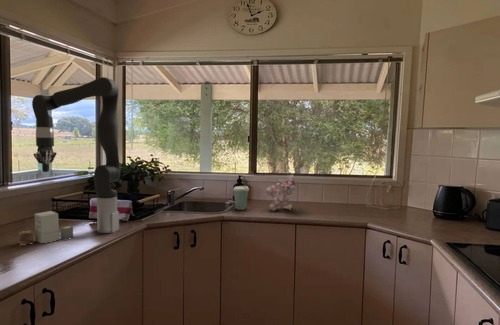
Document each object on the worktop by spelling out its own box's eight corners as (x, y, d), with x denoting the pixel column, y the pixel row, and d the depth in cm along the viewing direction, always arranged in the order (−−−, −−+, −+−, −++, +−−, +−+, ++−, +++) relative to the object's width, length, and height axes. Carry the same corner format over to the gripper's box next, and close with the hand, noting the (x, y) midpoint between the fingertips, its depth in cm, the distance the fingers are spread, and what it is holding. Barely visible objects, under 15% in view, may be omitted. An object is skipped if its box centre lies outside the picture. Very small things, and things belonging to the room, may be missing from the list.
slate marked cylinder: (75, 237, 156) (75, 226, 155) (68, 240, 151) (68, 229, 150) (65, 236, 157) (65, 225, 156) (58, 239, 152) (58, 228, 151)
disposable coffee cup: (239, 211, 216) (240, 188, 214) (229, 208, 223) (229, 186, 222) (251, 209, 223) (252, 187, 221) (241, 206, 231) (241, 184, 229)
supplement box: (52, 237, 155) (52, 210, 154) (59, 240, 150) (58, 213, 149) (34, 241, 149) (34, 213, 148) (41, 244, 144) (40, 216, 143)
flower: (263, 202, 238) (262, 173, 225) (294, 199, 239) (295, 170, 226) (266, 221, 221) (265, 190, 208) (300, 217, 222) (301, 187, 209)
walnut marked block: (32, 241, 149) (32, 229, 149) (33, 244, 145) (33, 232, 145) (19, 243, 146) (18, 231, 146) (19, 246, 142) (19, 234, 142)
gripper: (41, 137, 156) (42, 173, 158) (61, 136, 169) (62, 170, 171) (27, 136, 157) (28, 173, 159) (48, 136, 170) (48, 170, 172)
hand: (45, 171), depth 165 cm, fingers closed
